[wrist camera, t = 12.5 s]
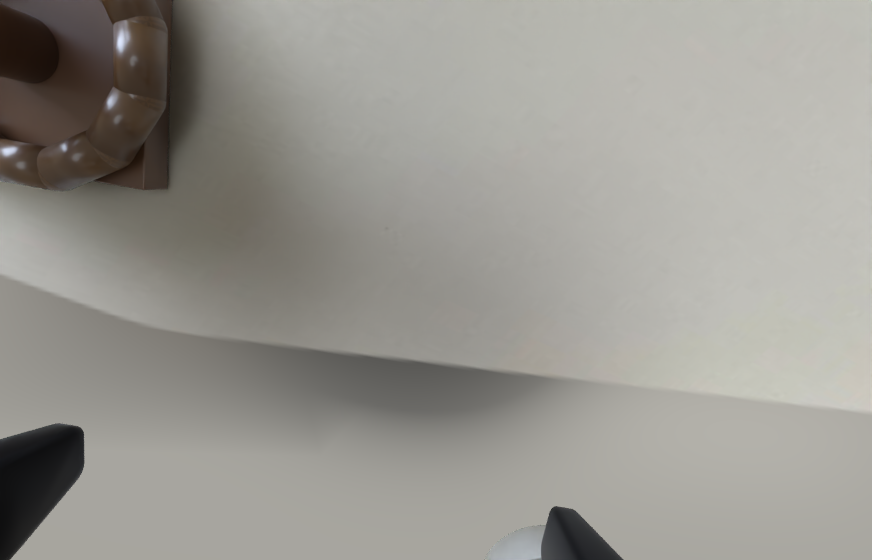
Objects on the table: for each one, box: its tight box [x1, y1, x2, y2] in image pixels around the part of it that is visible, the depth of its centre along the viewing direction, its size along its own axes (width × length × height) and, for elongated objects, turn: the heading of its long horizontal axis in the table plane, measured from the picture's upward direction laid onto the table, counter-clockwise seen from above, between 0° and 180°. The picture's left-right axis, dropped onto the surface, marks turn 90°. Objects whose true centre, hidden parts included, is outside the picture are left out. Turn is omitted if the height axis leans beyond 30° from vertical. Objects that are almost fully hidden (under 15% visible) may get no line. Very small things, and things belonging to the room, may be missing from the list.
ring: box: [0, 0, 168, 191], centre depth 16 cm, size 10×10×2 cm
